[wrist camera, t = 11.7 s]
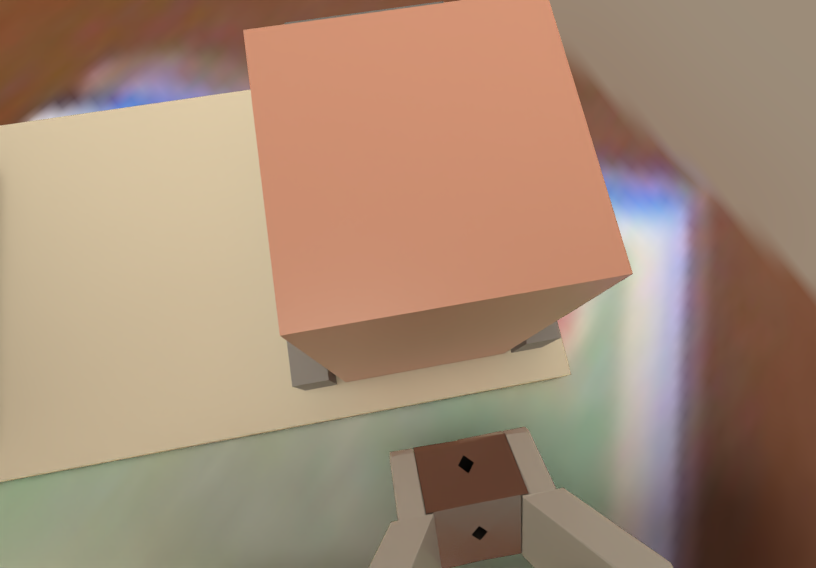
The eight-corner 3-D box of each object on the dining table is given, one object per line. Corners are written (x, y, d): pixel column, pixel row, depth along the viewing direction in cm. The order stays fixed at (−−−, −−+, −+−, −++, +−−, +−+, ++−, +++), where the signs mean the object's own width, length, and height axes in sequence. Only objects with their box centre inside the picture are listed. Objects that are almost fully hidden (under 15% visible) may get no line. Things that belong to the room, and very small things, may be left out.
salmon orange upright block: (504, 353, 16) (632, 274, 7) (345, 382, 16) (279, 335, 7) (470, 206, 17) (545, -11, 8) (323, 231, 17) (243, 30, 8)
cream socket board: (556, 378, 18) (609, 364, 13) (-249, 528, 16) (-493, 570, 12) (481, 81, 21) (503, -10, 16) (-203, 181, 19) (-383, 110, 14)
